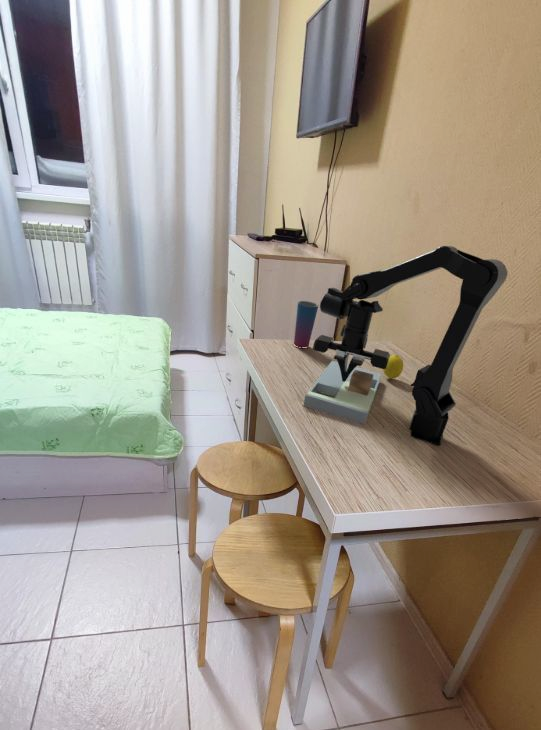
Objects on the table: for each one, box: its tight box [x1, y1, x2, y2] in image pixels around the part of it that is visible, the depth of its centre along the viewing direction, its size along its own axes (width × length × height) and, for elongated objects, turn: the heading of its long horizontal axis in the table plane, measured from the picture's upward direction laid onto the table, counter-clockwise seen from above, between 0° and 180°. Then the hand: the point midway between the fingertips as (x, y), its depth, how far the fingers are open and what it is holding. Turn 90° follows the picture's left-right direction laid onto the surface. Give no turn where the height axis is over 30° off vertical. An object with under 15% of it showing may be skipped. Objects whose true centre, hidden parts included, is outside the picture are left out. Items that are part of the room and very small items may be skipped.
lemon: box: [382, 354, 404, 380], centre depth 112 cm, size 6×6×8 cm
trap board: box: [303, 360, 382, 425], centre depth 101 cm, size 15×27×3 cm, turn 157°
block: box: [348, 370, 374, 396], centre depth 98 cm, size 5×5×4 cm
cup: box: [293, 300, 319, 347], centre depth 127 cm, size 7×7×15 cm
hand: (344, 381), depth 99 cm, fingers closed
